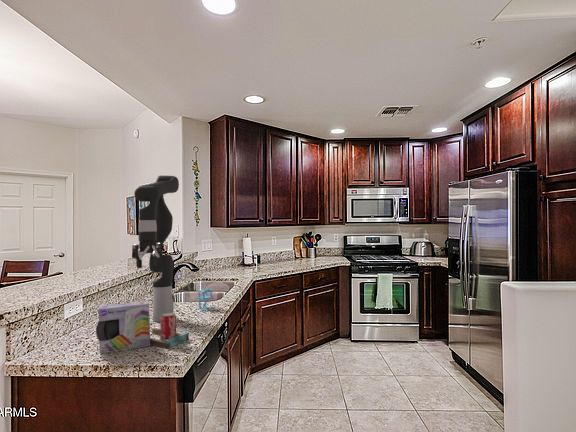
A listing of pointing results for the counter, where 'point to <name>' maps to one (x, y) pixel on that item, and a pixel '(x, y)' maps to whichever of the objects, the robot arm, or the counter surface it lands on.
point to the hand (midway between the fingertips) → (147, 267)
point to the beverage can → (167, 326)
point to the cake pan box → (123, 326)
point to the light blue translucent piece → (204, 298)
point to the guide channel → (169, 342)
